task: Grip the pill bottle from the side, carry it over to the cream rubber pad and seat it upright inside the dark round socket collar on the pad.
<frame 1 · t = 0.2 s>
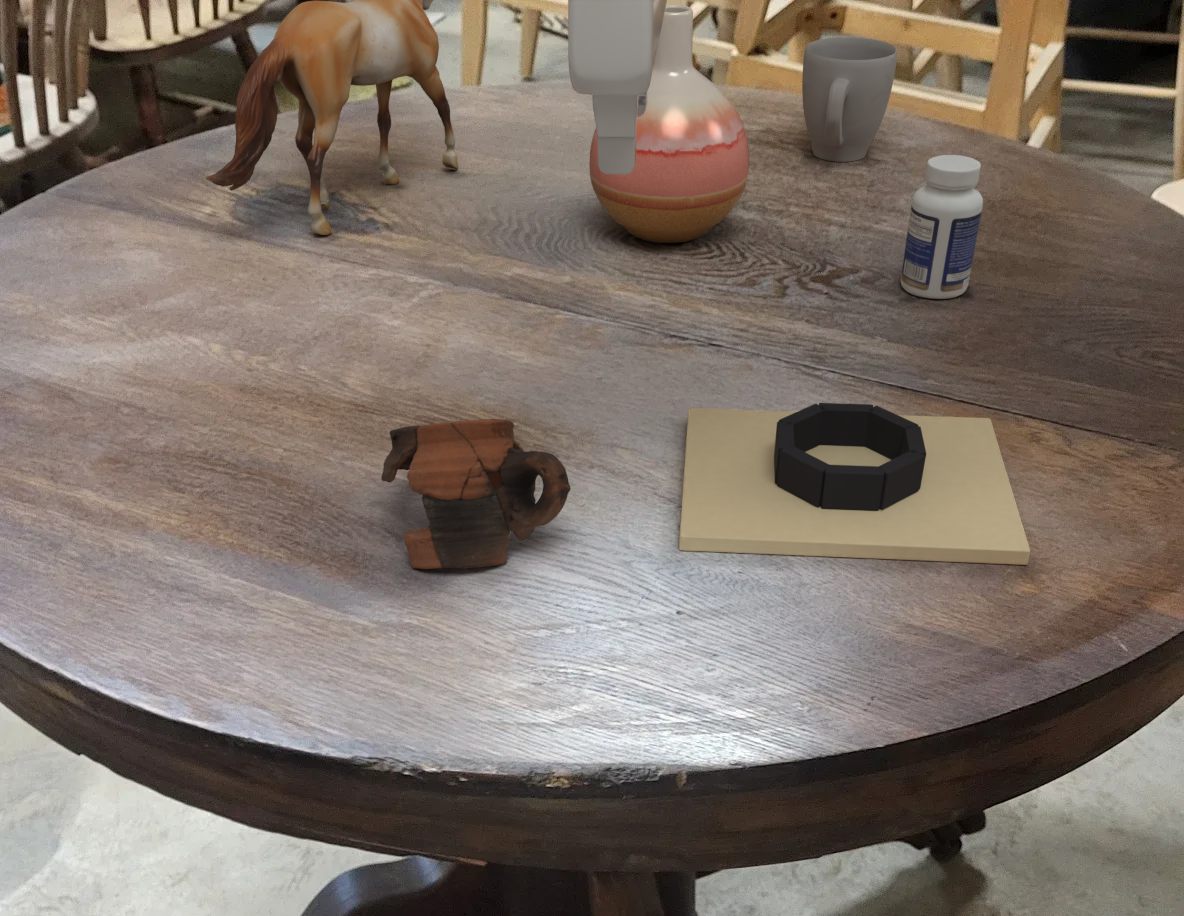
hand: (624, 140, 68), 21 cm above the table, tool pointing down, fingers open, 8 cm apart
pottery mug: (478, 536, 78), on the table
vase: (666, 233, 115), on the table
mug: (836, 160, 129), on the table
socket pad: (843, 487, 81), on the table
horse figurine: (344, 198, 122), on the table
pill bottle: (932, 290, 105), on the table
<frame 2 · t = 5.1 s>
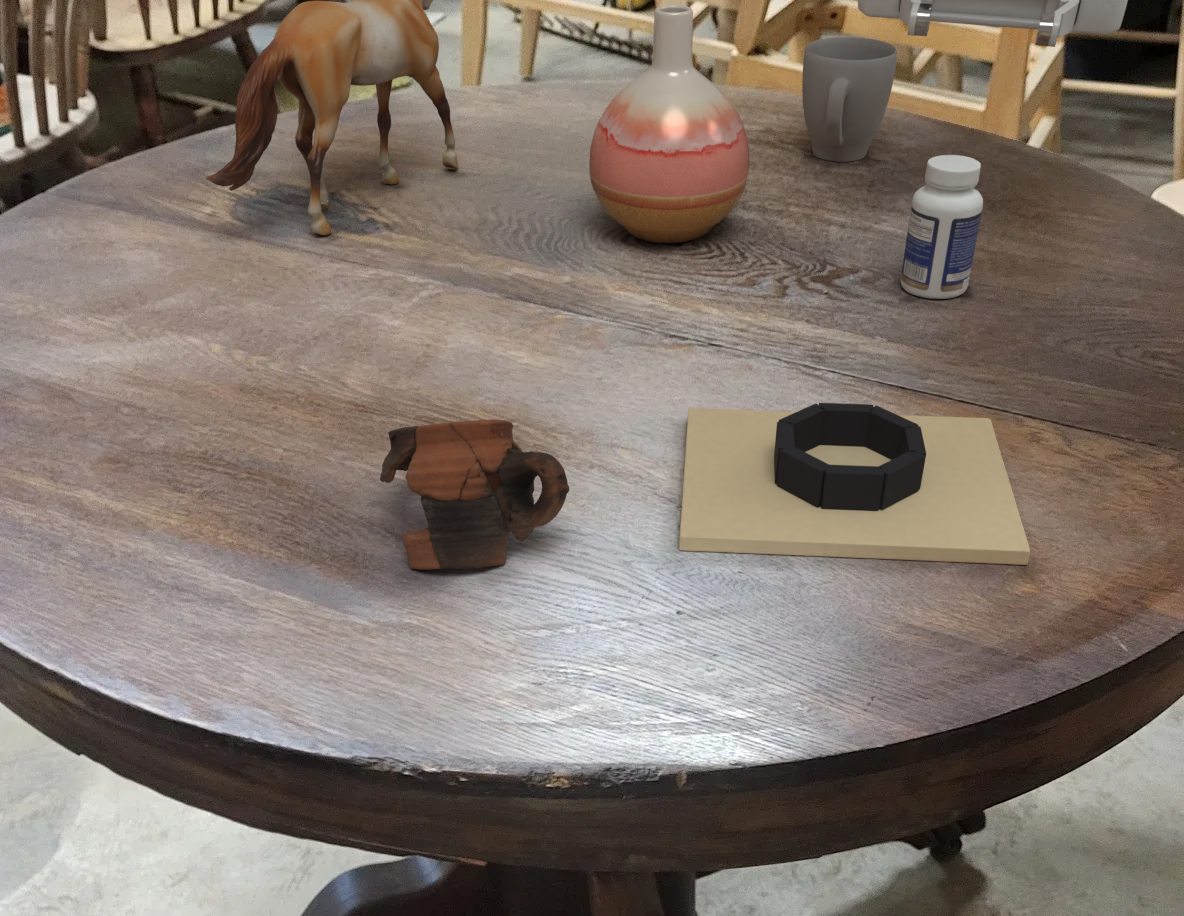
hand: (982, 31, 97), 18 cm above the table, tool horizontal, fingers open, 8 cm apart
nothing on the table moved.
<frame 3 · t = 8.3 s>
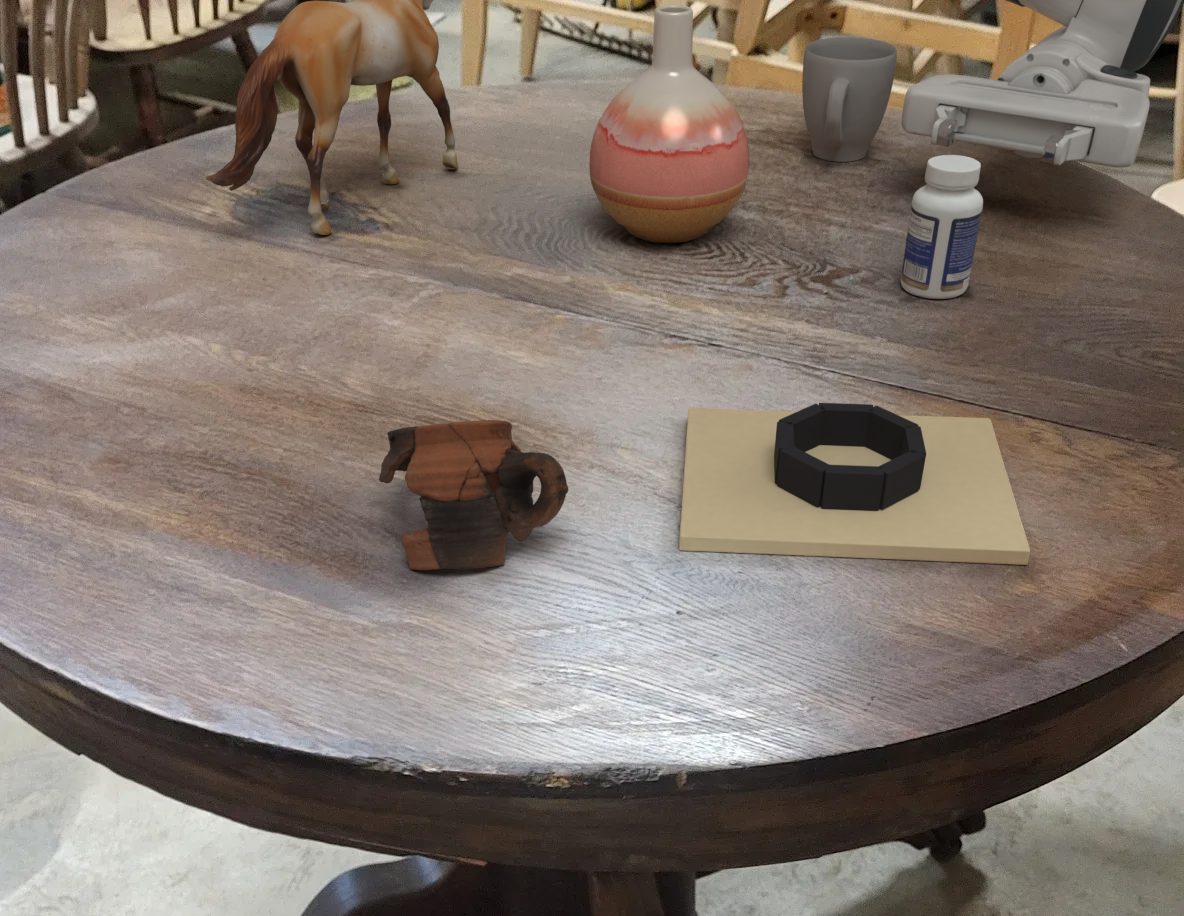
hand: (995, 144, 106), 8 cm above the table, tool horizontal, fingers open, 8 cm apart
nothing on the table moved.
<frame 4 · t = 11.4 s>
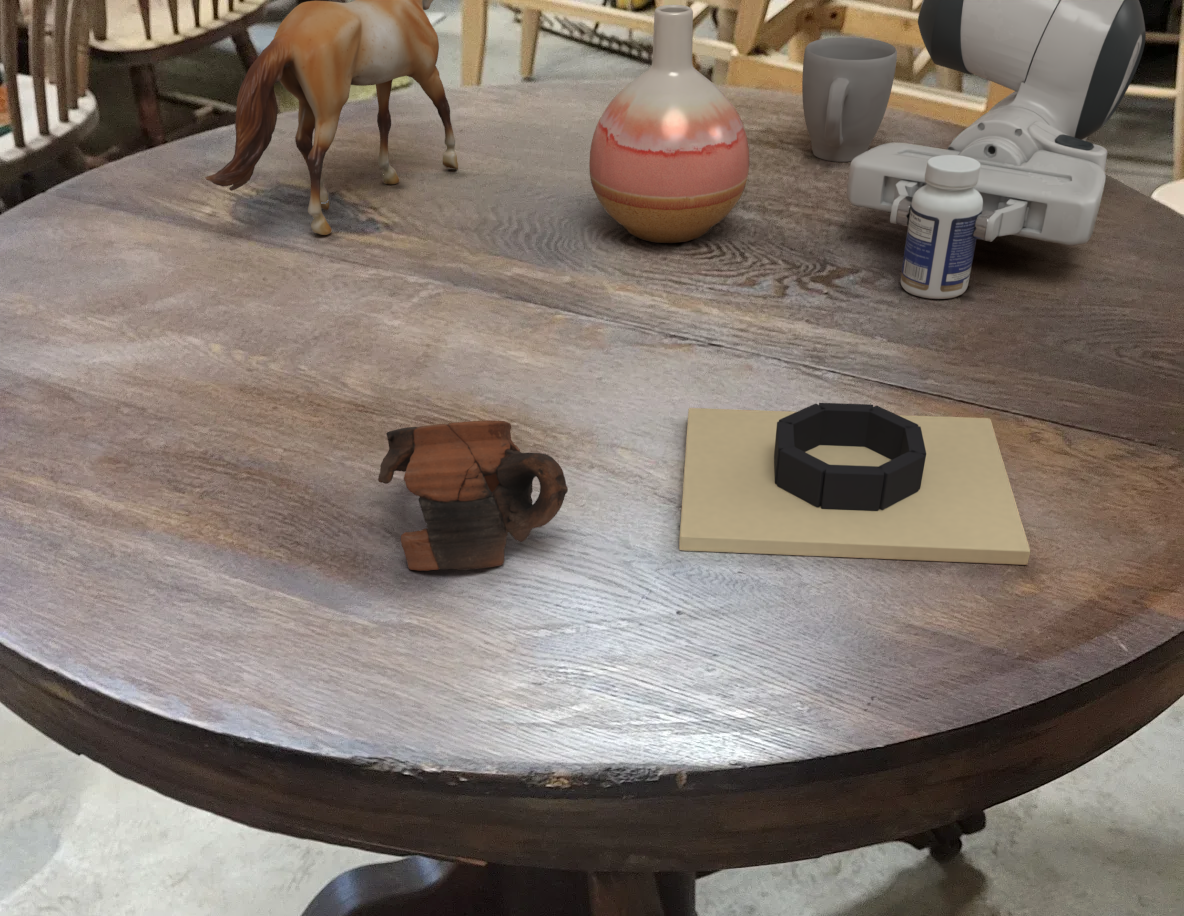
hand: (941, 222, 100), 6 cm above the table, tool horizontal, fingers closed on pill bottle, 5 cm apart
pill bottle: (932, 290, 105), on the table, touching gripper
everything else where it was.
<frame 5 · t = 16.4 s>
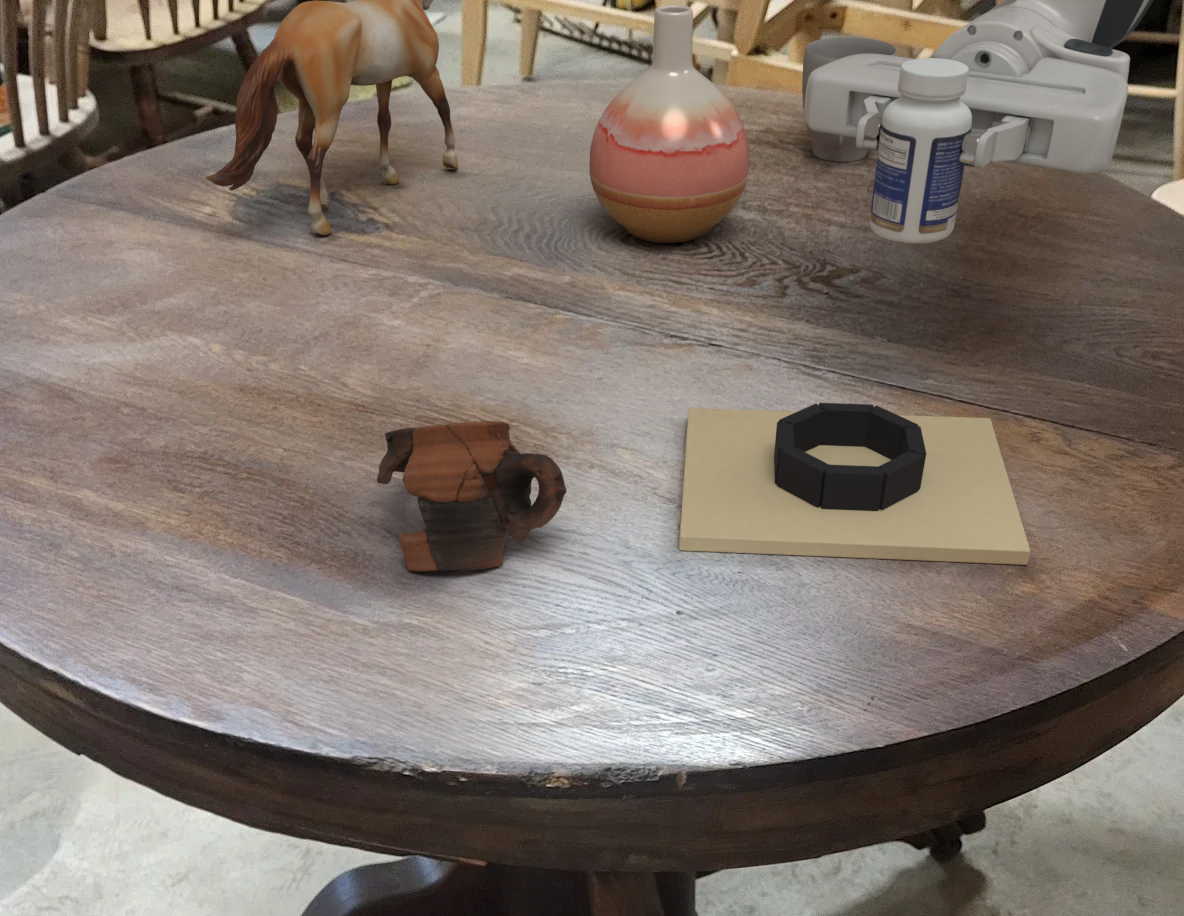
hand: (919, 144, 79), 17 cm above the table, tool horizontal, fingers closed on pill bottle, 5 cm apart
pill bottle: (909, 233, 84), point 11 cm above the table, touching gripper
everything else where it was.
when the fingers open (6 cm above the table, at t = 21.5 s): pill bottle stays where it is, resting on socket pad.
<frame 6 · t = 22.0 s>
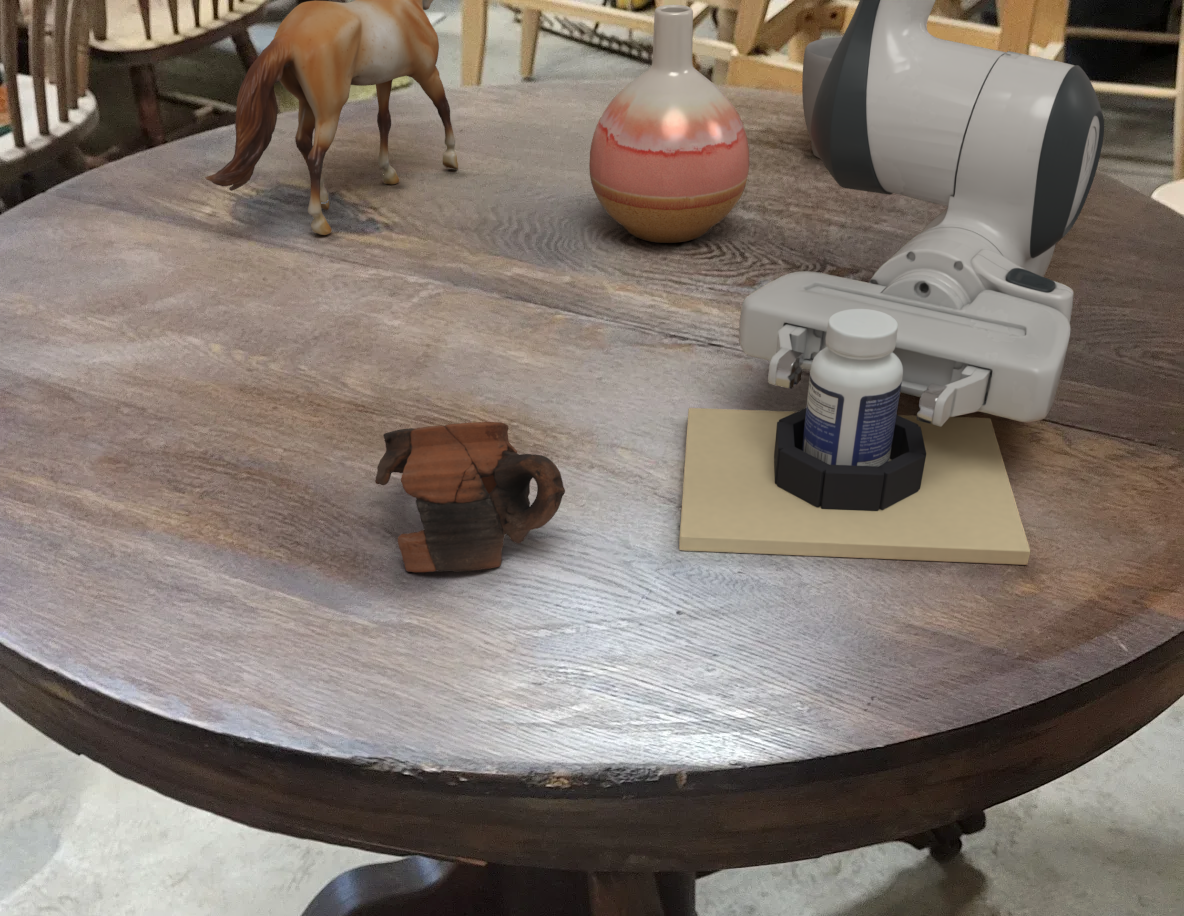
hand: (852, 393, 76), 7 cm above the table, tool horizontal, fingers open, 8 cm apart
pill bottle: (842, 474, 81), point 1 cm above the table, touching socket pad
everything else where it was.
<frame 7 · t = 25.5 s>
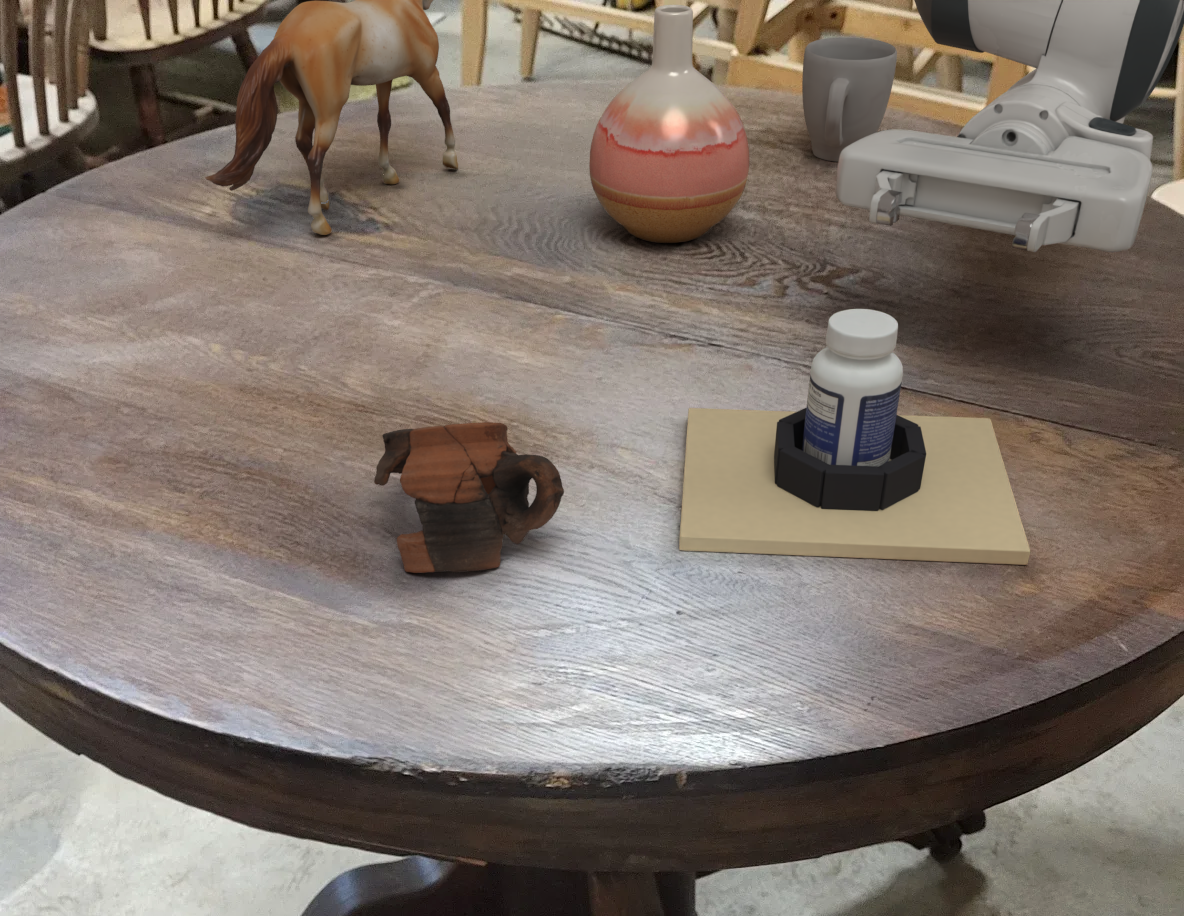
hand: (951, 224, 82), 12 cm above the table, tool horizontal, fingers open, 8 cm apart
nothing on the table moved.
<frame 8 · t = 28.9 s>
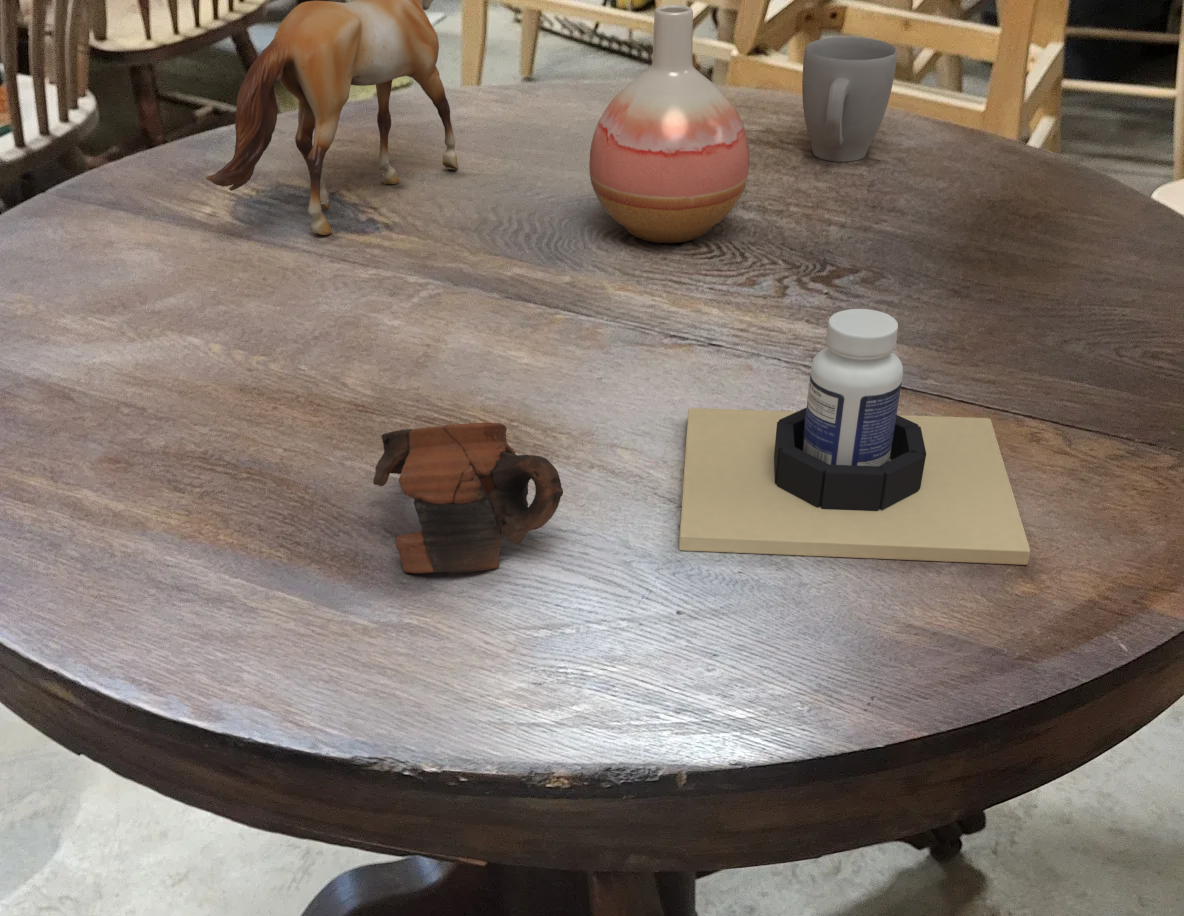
nothing on the table moved.
at the end: pill bottle 0.1 cm off-centre on the socket pad, point 0.8 cm above the socket pad's base; pill bottle tilted 0°; the gripper is holding nothing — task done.
